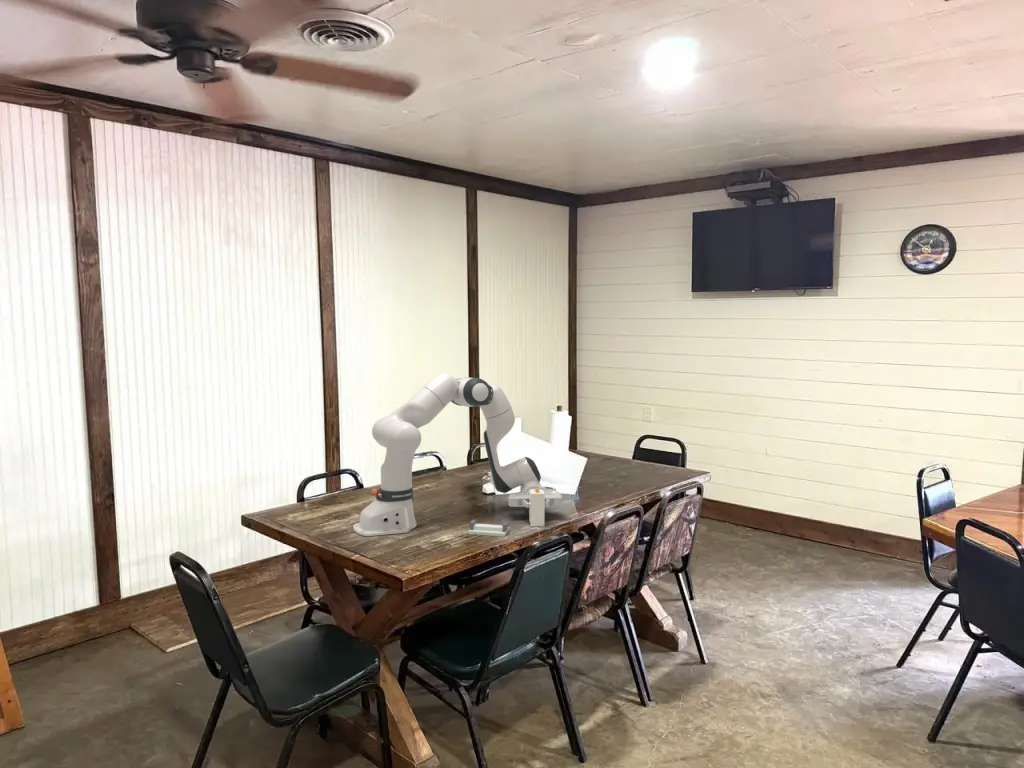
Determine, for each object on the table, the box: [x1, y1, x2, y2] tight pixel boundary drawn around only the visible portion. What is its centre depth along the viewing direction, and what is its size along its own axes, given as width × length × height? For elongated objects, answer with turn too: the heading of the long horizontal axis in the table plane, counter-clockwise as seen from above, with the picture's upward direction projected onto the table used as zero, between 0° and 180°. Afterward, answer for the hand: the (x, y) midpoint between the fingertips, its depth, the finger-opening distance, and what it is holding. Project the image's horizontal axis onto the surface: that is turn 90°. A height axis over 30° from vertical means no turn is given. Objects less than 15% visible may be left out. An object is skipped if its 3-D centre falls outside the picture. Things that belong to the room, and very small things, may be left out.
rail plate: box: [467, 519, 510, 538], centre depth 245 cm, size 8×13×3 cm, turn 78°
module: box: [528, 488, 546, 527], centre depth 255 cm, size 6×5×13 cm
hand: (537, 505), depth 254 cm, fingers closed on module, 5 cm apart
